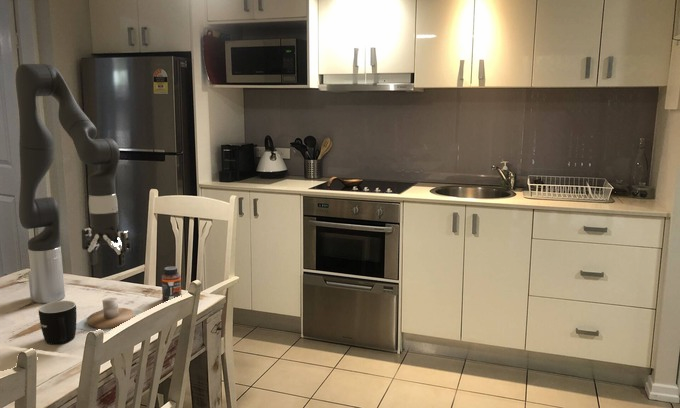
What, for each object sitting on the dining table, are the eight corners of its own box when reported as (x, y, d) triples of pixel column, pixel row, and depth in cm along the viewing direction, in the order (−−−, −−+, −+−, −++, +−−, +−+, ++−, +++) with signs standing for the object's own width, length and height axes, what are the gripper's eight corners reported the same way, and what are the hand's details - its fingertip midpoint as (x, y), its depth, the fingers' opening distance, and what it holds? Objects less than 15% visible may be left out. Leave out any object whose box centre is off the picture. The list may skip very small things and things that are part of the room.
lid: (77, 326, 161) (75, 305, 159) (106, 309, 173) (104, 290, 172) (117, 331, 158) (115, 310, 156) (144, 313, 170) (142, 294, 169)
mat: (69, 330, 160) (69, 327, 160) (105, 310, 175) (105, 307, 175) (118, 336, 156) (118, 333, 156) (151, 315, 171) (151, 312, 171)
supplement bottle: (176, 305, 179) (174, 271, 177) (159, 304, 180) (157, 270, 178) (185, 299, 185) (183, 265, 183) (168, 297, 186) (166, 264, 184)
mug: (39, 339, 154) (36, 304, 152) (75, 332, 159) (72, 298, 157) (45, 356, 144) (42, 319, 142) (83, 348, 149) (80, 311, 147)
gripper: (72, 211, 157) (77, 267, 160) (117, 213, 154) (121, 271, 157) (90, 206, 164) (94, 259, 167) (133, 208, 161) (137, 263, 164)
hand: (107, 265), depth 162 cm, fingers open, 8 cm apart
